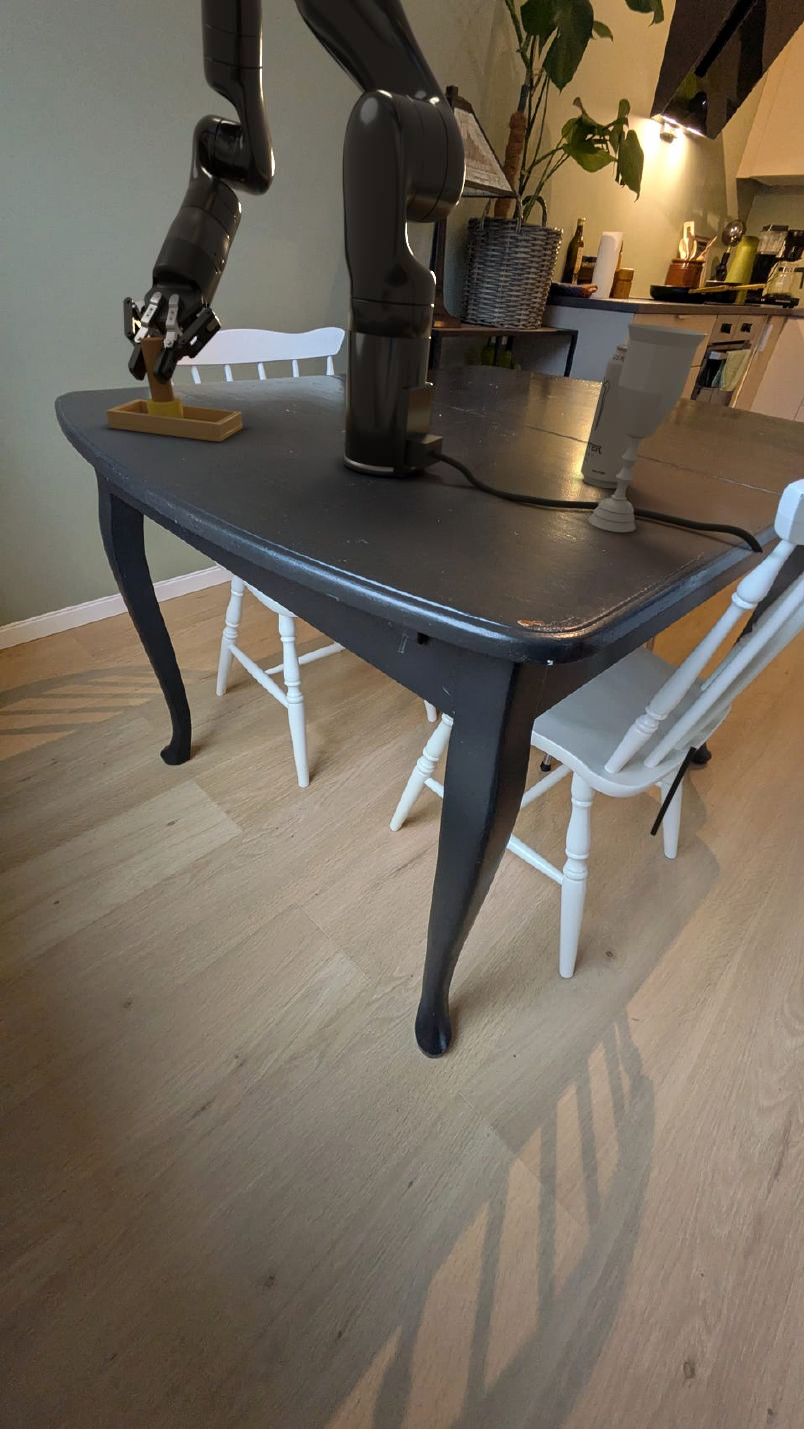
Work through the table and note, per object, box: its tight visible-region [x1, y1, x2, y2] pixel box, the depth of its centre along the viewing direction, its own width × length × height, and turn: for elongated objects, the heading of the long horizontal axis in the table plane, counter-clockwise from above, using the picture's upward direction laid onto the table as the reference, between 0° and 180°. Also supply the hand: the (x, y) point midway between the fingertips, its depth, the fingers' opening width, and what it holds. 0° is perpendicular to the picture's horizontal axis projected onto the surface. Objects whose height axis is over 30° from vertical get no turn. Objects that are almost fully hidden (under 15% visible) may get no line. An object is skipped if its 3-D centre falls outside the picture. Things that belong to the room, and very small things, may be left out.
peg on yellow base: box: [140, 336, 184, 419], centre depth 82 cm, size 4×4×10 cm
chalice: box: [587, 323, 708, 533], centre depth 62 cm, size 7×7×18 cm
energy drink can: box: [580, 344, 630, 489], centre depth 76 cm, size 6×6×15 cm
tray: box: [106, 398, 243, 443], centre depth 84 cm, size 15×8×2 cm, turn 81°
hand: (147, 377), depth 80 cm, fingers closed on peg on yellow base, 3 cm apart
